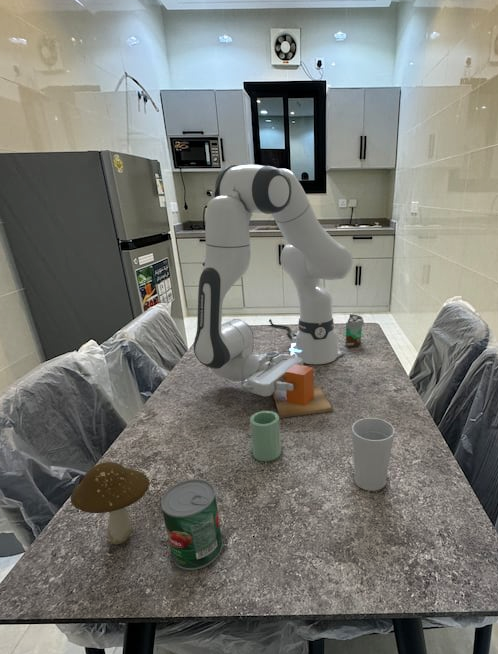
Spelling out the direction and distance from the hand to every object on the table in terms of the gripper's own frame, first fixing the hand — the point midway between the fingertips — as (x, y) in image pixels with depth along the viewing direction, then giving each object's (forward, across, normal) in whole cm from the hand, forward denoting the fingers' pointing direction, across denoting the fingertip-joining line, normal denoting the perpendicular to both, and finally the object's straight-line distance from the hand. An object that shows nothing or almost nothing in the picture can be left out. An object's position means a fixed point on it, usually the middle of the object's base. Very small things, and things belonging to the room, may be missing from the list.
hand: (302, 379), depth 103 cm
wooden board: (-1, 0, +7) cm, 7 cm away
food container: (-4, +51, +7) cm, 51 cm away
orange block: (-1, 0, +6) cm, 6 cm away
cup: (+27, -22, +7) cm, 36 cm away
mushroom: (-5, -54, +7) cm, 55 cm away
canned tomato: (+8, -50, +7) cm, 52 cm away
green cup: (+4, -24, +7) cm, 25 cm away
